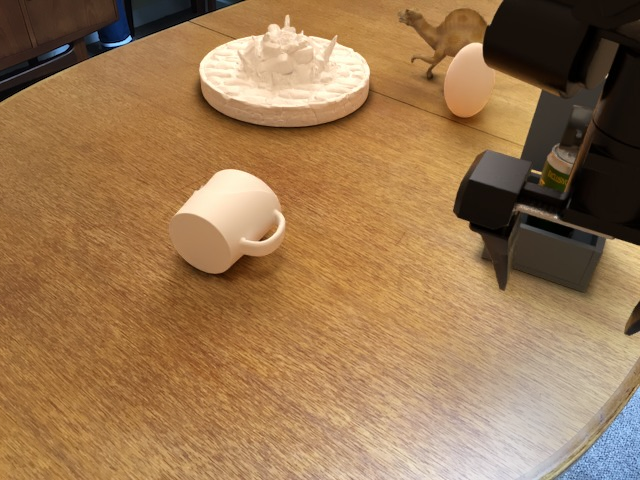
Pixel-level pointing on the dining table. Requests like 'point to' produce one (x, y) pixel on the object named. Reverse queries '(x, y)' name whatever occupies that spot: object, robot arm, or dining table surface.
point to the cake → (284, 78)
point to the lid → (553, 123)
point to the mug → (227, 221)
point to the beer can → (556, 179)
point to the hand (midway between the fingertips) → (563, 308)
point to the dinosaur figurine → (446, 32)
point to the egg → (468, 82)
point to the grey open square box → (556, 253)
